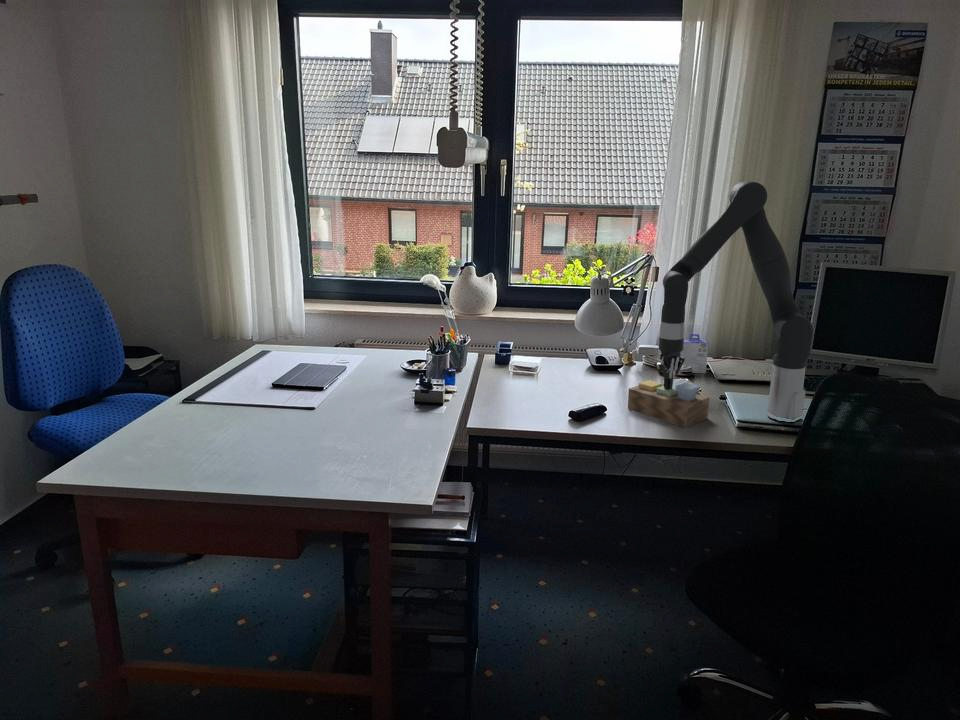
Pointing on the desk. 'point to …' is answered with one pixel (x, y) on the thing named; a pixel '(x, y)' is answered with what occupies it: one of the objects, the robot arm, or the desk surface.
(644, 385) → the button ochre
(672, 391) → the button sage
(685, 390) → the button slate
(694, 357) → the ink cartridge box
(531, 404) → the desk surface
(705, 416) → the control box
